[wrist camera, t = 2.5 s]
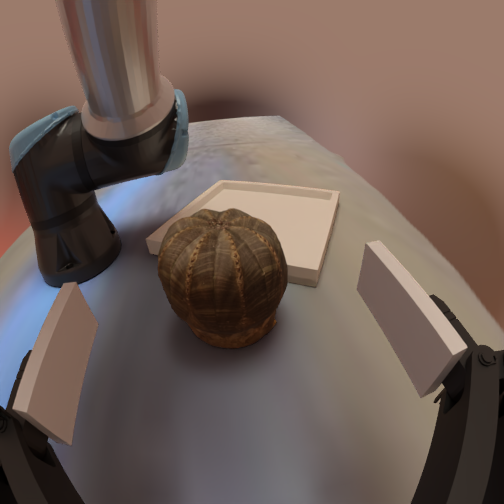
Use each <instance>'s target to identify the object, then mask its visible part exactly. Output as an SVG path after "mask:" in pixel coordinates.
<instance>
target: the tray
mask: <svg viewBox="0 0 504 504" xmlns="http://www.w3.org/2000/svg"><path fill="white" fill-rule="evenodd" d="M339 194H340V191H332V190H325V189H316V188H308V187H299V186H290V185H279V184H269V183H257V182H244V181H229V180H220V181H218V182H217V183H216V184H214V185H213V186H212V187H210V188H209V189H208V190H206V191H205V192H204V193H202V194H201V195H200V196H199V197H197V198H196V199H195V200H193V201H192V202H191V203H189V204H188V205H187V206H186V207H184V208H183V209H182V210H181V211H179V212H178V213H177V214H176V215H174V216H173V217H172V218H171V219H169V220H168V221H167V222H166V223H164V224H163V225H162V226H161V227H160V228H158V229H157V230H156V231H155V232H153V233H152V234H151V235H150V236H149V237H148V238H146V242H147V245H148V249H149V252H150V254H154V255H158V253H159V250H160V247H161V243H162V240H163V238H164V236H165V234H166V233H167V231H168V229H169V227H170V226H171V225H172V224H173V223H174V222H176V221H177V220H179V219H181V218H184V217H190V216H191V215H193V214H194V213H196V212H198V211H199V210H201V209H210V210H214V211H219V212H222V211H225V210H228V209H230V208H235V209H239V210H241V211H243V212H245V213H247V214H249V215H250V216H252V217H255V218H258V219H261V220H263V221H264V222H266V223H267V224H269V225H270V226H271V228H272V229H273V230H274V232H275V233H276V235H277V238H278V239H279V241H280V243H281V247H282V249H283V253H284V255H285V259H286V263H287V267H288V282H290V283H295V284H301V285H306V286H311V287H316V285H317V282H318V278H319V275H320V272H321V268H322V265H323V261H324V258H325V254H326V251H327V247H328V243H329V240H330V236H331V232H332V228H333V224H334V221H335V217H336V213H337V209H338V204H339Z"/></svg>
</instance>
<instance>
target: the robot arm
mask: <svg viewBox="0 0 504 504" xmlns="http://www.w3.org/2000/svg"><path fill="white" fill-rule="evenodd" d="M55 1H56V5H57V9H58V13H59V16H60V20H61V24H62V28H63V31H64V35H65V38H66V41H67V45H68V48H69V51H70V54H71V57H72V60H73V63H74V66H75V69H76V72H77V75H78V78H79V80H80V83H81V86H82V88H83V91H84V94H85V96H86V99H87V100H86V101H85V104H84V106H83V109H82V112H81V113H78V112H79V111H78V109H77V108H76V107H75V106H69V107H66V108H63V109H61V110H59V111H57V112H55V113H53V114H51V115H48V116H46V117H44V118H42V119H40V120H39V121H37V122H35V123H33V124H32V125H30V126H28V127H27V128H26V129H24V130H23V131H21V132H20V133H19V134H17V135H16V136H15V137H14V138H13V140H12V141H11V143H10V147H9V152H10V158H11V165H12V172H13V173H14V176H15V180H16V183H17V186H18V189H19V193H20V196H21V199H22V202H23V204H24V207H25V210H26V213H27V216H28V218H29V221H30V223H31V226H32V229H33V231H34V236H35V245H36V253H37V260H38V266H39V270H40V272H41V274H42V276H43V278H44V280H45V281H46V283H48V284H49V285H51V286H55V287H61V289H60V291H59V293H58V295H57V297H56V299H55V301H54V303H53V305H52V307H51V309H50V311H49V313H48V315H47V317H46V319H45V322H44V324H43V326H42V328H41V330H40V333H39V335H38V337H37V340H36V342H35V345H34V347H33V349H32V350H29V352H28V353H27V354H26V356H25V357H24V358H23V360H22V363H21V366H20V368H19V371H18V374H17V377H16V378H17V379H16V380H15V382H14V385H13V388H12V391H11V395H10V398H9V401H8V404H7V408H6V410H5V409H4V408H3V407H1V406H0V504H85V503H84V502H83V500H82V499H81V497H80V496H79V494H78V493H77V491H76V490H75V488H74V486H73V485H72V483H71V481H70V480H69V478H68V476H67V475H66V473H65V471H64V469H63V467H62V466H61V464H60V462H59V460H58V458H57V456H56V454H55V452H54V450H53V448H52V446H51V445H50V444H49V443H48V442H47V441H48V437H49V438H51V439H52V440H54V441H55V442H56V443H60V444H65V445H70V446H72V438H73V432H74V425H75V419H76V414H77V408H78V403H79V398H80V393H81V389H82V384H83V380H84V376H85V372H86V368H87V364H88V360H89V356H90V352H91V349H92V345H93V341H94V338H95V335H96V331H97V328H98V325H99V324H98V323H97V321H96V319H95V317H94V315H93V314H92V312H91V310H90V308H89V306H88V304H87V302H86V301H85V299H84V297H83V295H82V293H81V291H80V289H79V287H78V285H77V284H78V283H81V282H83V281H85V280H88V279H90V278H92V277H93V276H95V275H97V274H98V273H100V272H101V271H103V270H104V269H105V268H106V267H108V266H109V265H110V264H111V263H112V262H113V261H114V259H115V258H116V257H117V255H118V254H119V252H120V249H121V241H120V238H119V235H118V232H117V230H116V228H115V227H114V225H113V224H112V222H111V221H110V220H109V218H108V217H107V215H106V214H105V213H104V211H103V210H102V208H101V207H100V205H99V204H98V202H97V199H96V195H95V192H94V190H97V189H101V188H104V187H108V186H111V185H115V184H119V183H123V182H126V181H130V180H135V179H139V178H143V177H148V176H153V175H161V174H163V173H164V172H168V171H172V170H175V169H178V168H179V167H181V166H182V165H183V163H184V162H185V160H186V156H187V151H188V141H189V135H188V123H189V122H188V111H187V104H186V100H185V96H184V94H183V92H182V91H181V90H178V89H174V88H173V86H172V84H171V83H170V81H169V80H168V79H167V78H165V77H164V76H162V75H160V66H159V53H158V52H159V51H158V30H157V0H55ZM357 291H358V292H359V294H360V295H361V297H362V298H363V300H364V302H365V303H366V305H367V306H368V308H369V310H370V311H371V313H372V314H373V316H374V318H375V319H376V321H377V322H378V324H379V326H380V327H381V329H382V331H383V332H384V334H385V336H386V337H387V339H388V341H389V342H390V344H391V346H392V347H393V349H394V351H395V353H396V354H397V356H398V358H399V360H400V361H401V363H402V365H403V367H404V368H405V370H406V372H407V374H408V376H409V377H410V379H411V381H412V383H413V385H414V387H415V388H416V390H417V392H418V394H419V396H420V398H422V397H424V396H426V395H428V394H430V393H432V392H434V391H436V389H437V388H438V387H439V386H440V384H441V383H442V384H443V385H444V387H445V388H444V389H443V390H442V391H441V392H440V394H439V395H438V396H437V397H436V398H435V401H434V403H437V401H438V400H439V399H440V398H441V401H440V403H439V404H440V407H439V412H438V417H437V421H436V426H435V430H434V434H433V438H432V442H431V446H430V449H429V453H428V456H427V460H426V463H425V466H424V469H423V472H422V475H421V478H420V481H419V484H418V486H417V489H416V492H415V494H414V497H413V499H412V502H411V504H504V350H501V351H493V350H492V349H491V348H490V347H488V346H486V345H479V346H478V345H477V344H476V343H475V341H474V340H473V339H472V337H471V336H470V335H469V333H468V332H467V331H466V329H465V328H464V327H463V325H462V324H461V323H460V321H459V320H458V319H456V316H455V315H454V314H453V313H452V312H451V311H450V309H449V308H448V306H447V305H446V304H445V303H444V301H442V300H441V299H439V298H438V297H436V296H435V295H434V294H433V295H430V296H428V295H427V293H426V292H425V291H424V290H423V289H422V287H421V286H420V285H419V284H418V283H417V281H416V280H415V279H414V278H413V277H412V276H411V274H410V273H409V272H408V271H407V270H406V269H405V268H404V267H403V265H402V264H401V263H400V262H399V261H398V260H397V259H396V258H395V257H394V256H393V254H392V253H391V252H390V251H389V250H388V249H387V248H386V247H385V246H384V245H383V244H382V243H381V242H380V241H373V242H366V244H365V250H364V255H363V261H362V266H361V271H360V276H359V281H358V285H357Z"/></svg>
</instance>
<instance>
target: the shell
mask: <svg viewBox="0 0 504 504" xmlns="http://www.w3.org/2000/svg"><path fill="white" fill-rule="evenodd" d="M158 276H159V278H160V280H161V283H162V286H163V289H164V291H165V293H166V295H167V298H168V301H169V302H170V304H171V307H172V309H173V310H174V312H175V313H176V314H177V315H178V317H179V318H181V319H182V320H184V321H185V322H187V324H188V325H189V327H190V328H191V330H192V331H193V333H194V334H195V335H196V336H197V337H198V338H200V339H201V340H202V341H204V342H206V343H208V344H210V345H212V346H216V347H222V348H231V349H234V348H240V347H245V346H248V345H251V344H254V343H256V342H257V341H258V340H259V339H261V338H262V337H263V336H264V335H266V334H268V333H269V331H270V330H271V329H272V328H273V326H274V325H275V324H276V323H277V322H276V320H275V319H274V318H275V314H276V309H277V307H278V305H279V303H280V301H281V299H282V297H283V294H284V292H285V290H286V286H287V282H288V267H287V263H286V259H285V255H284V253H283V249H282V247H281V243H280V241H279V239H278V238H277V235H276V233H275V232H274V230H273V229H272V228H271V226H270V225H269V224H267V223H266V222H264V221H263V220H261V219H258V218H255V217H252V216H250V215H249V214H247V213H245V212H243V211H241V210H239V209H235V208H230V209H228V210H225V211H222V212H219V211H214V210H210V209H201V210H199V211H198V212H196V213H194V214H193V215H191V216H190V217H184V218H181V219H179V220H177V221H176V222H174V223H173V224H172V225H171V226H170V227H169V229H168V231H167V233H166V234H165V236H164V238H163V240H162V243H161V247H160V250H159V253H158Z"/></svg>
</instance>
